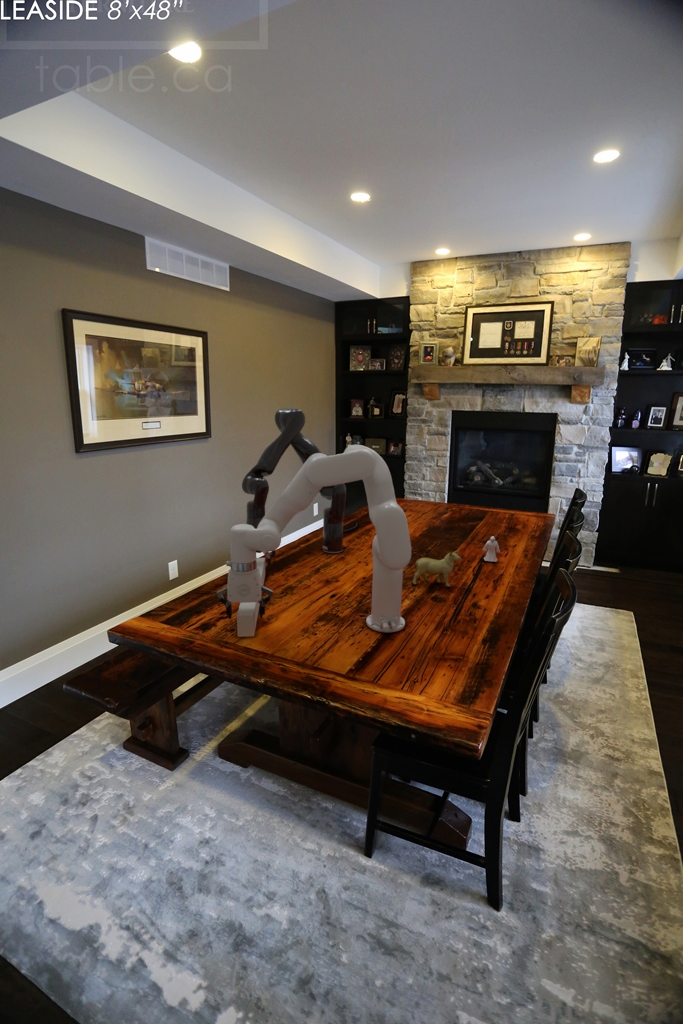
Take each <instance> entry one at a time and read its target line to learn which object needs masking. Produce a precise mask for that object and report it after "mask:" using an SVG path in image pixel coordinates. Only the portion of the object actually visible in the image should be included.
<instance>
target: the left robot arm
mask: <svg viewBox="0 0 683 1024" xmlns="http://www.w3.org/2000/svg"><path fill="white" fill-rule="evenodd" d="M274 421H275V426H276V428H277V429H278V430H279V432H280V434H279V435H278V437H277V438H275V439H274V440H273V441H272V442H271V443H270V444H268V446H267V447H266V448H265V449H264V450H263V452H262V454H261V455H260V457H259V459H258V460H257V462H256V464H255V465H254V466H253V467H252V468H251V469H250V470H249V471H248V472H247V473H246V475H245V476H244V477H243V479H242V482H241V489H242V491H243V492H244V493H245V494H246V495H253V496H254V497H253V500H249V501H248V502H247V503H246V520H245V521H246V523H245V524H248V525H252V526H253V527H254V528H255V529H257V527H258V525H259V523H260V522H261V520H262V519H263V517H264V516H265V515H266V503H267V500H268V497H269V491H270V486H269V482H268V480H267V479H266V478H265V477H270V476H272V474H273V473H274V471H275V470H276V468H277V466H278V464H279V462H280V461H281V459H282V457H283V455H284V454H285V452H286V451H287V450H288V448H290V446H291V447H292V449H293V450H294V452H295V453H296V455H297V457H298V458H299V460H300V461H301V463H302V465H303V464H304V463H305V462H306V460H307V459H308V458H309V457H310V456H311V455H313V454H316V453H322V451H321V449H320V448H319V447H318V445H317V444H316V443H315V442H314V441H312V440H311V439H310V438H308V437H307V436H306V435H304V434H303V433H302V432H301V431H302V429H303V428H304V427H305V424H306V415H305V412H304V411H303V410H301V409H300V408H295V407H294V408H293V407H291V408H289V407H285V408H280V409H278V410H276V412H275V413H274ZM318 494H320V496H321V498H322V499H324V500H326V501H331V503H330V506H328V507H325V508H324V509H323V515H322V516H323V520H322V521H323V526H322V527H323V528H322V533H323V534H322V552H324V553H325V554H326V553H327V554H341V553H342V552H343V551H344V533H348V532H350V531H352V530H354V529H356V528H357V527H358V522H356V523H355V525H354V526H353V527H350V528H349V529H344V513H345V509H346V502H347V487H346V484H345V483H343V484H338V485H332V486H325V487H322V488H321V490H320V491H319V492H318ZM261 553H262V554H263V555H264V556H266V567H267V568H270V567H271V565H272V558H275V557H276V550H274V551H271V553H270V552H264V551H256V554H261Z"/></svg>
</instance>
